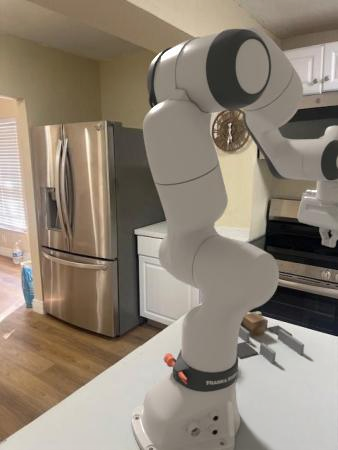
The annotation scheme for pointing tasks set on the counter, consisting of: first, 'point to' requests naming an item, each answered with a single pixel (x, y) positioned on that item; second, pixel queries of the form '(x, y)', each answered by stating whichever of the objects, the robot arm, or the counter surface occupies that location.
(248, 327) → the walnut block
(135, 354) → the counter surface
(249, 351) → the mats
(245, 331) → the rail lane
